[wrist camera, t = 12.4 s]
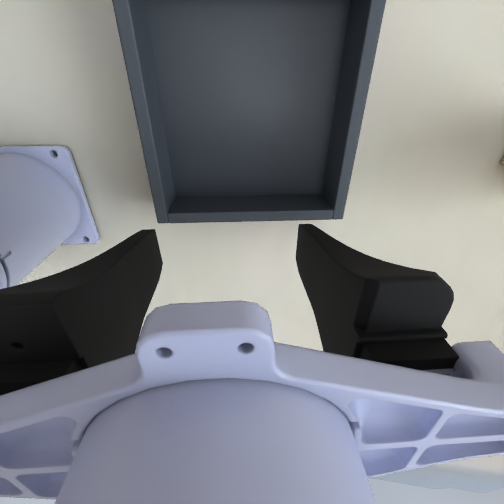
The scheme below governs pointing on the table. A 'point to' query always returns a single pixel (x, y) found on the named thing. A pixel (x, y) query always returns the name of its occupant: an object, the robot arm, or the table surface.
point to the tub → (249, 103)
